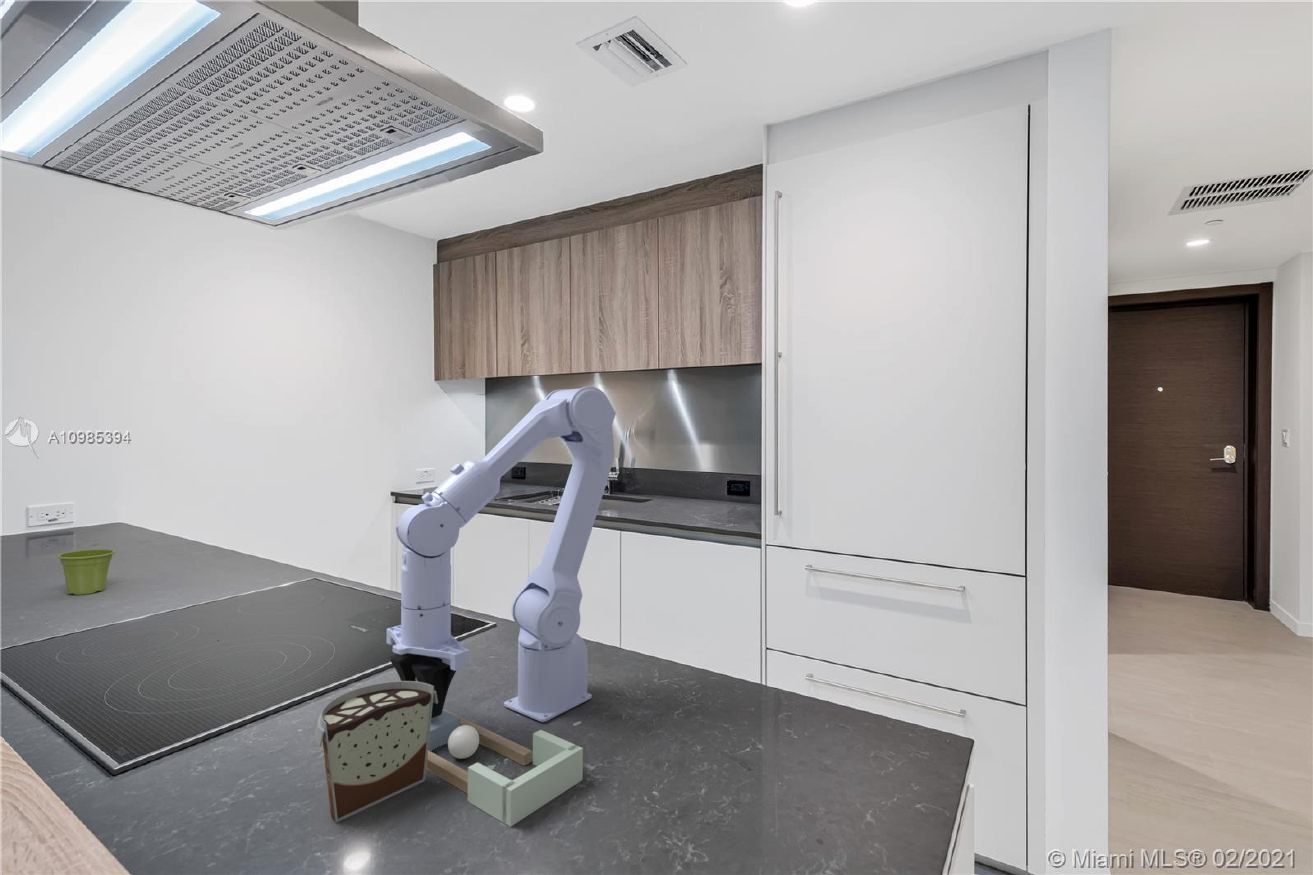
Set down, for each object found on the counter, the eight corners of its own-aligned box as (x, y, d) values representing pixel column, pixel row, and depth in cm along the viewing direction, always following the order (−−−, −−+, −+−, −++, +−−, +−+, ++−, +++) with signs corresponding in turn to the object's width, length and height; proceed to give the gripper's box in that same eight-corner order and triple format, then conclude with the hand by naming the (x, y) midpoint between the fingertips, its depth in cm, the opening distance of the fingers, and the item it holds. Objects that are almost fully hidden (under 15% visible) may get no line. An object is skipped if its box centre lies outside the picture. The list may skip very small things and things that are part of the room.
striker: (436, 725, 79) (436, 666, 79) (460, 737, 76) (460, 676, 76) (399, 740, 75) (400, 679, 75) (423, 754, 72) (424, 690, 72)
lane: (438, 715, 82) (439, 706, 82) (532, 761, 71) (532, 751, 71) (378, 741, 75) (378, 731, 75) (471, 795, 64) (471, 784, 64)
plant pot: (116, 584, 145) (116, 547, 144) (113, 593, 137) (113, 554, 137) (60, 590, 139) (60, 551, 139) (54, 600, 131) (54, 559, 131)
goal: (540, 759, 71) (540, 729, 71) (582, 780, 67) (582, 748, 67) (467, 801, 63) (467, 767, 63) (510, 827, 59) (510, 790, 59)
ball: (466, 745, 74) (467, 716, 74) (485, 755, 72) (485, 725, 72) (441, 758, 71) (441, 728, 71) (459, 768, 69) (460, 737, 69)
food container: (408, 755, 72) (409, 669, 72) (437, 775, 68) (438, 684, 68) (293, 804, 62) (293, 706, 62) (319, 830, 58) (319, 725, 58)
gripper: (363, 599, 77) (363, 708, 77) (432, 623, 68) (431, 744, 69) (415, 588, 83) (414, 689, 83) (484, 608, 74) (483, 720, 74)
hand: (425, 713), depth 76 cm, fingers closed on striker, 2 cm apart
